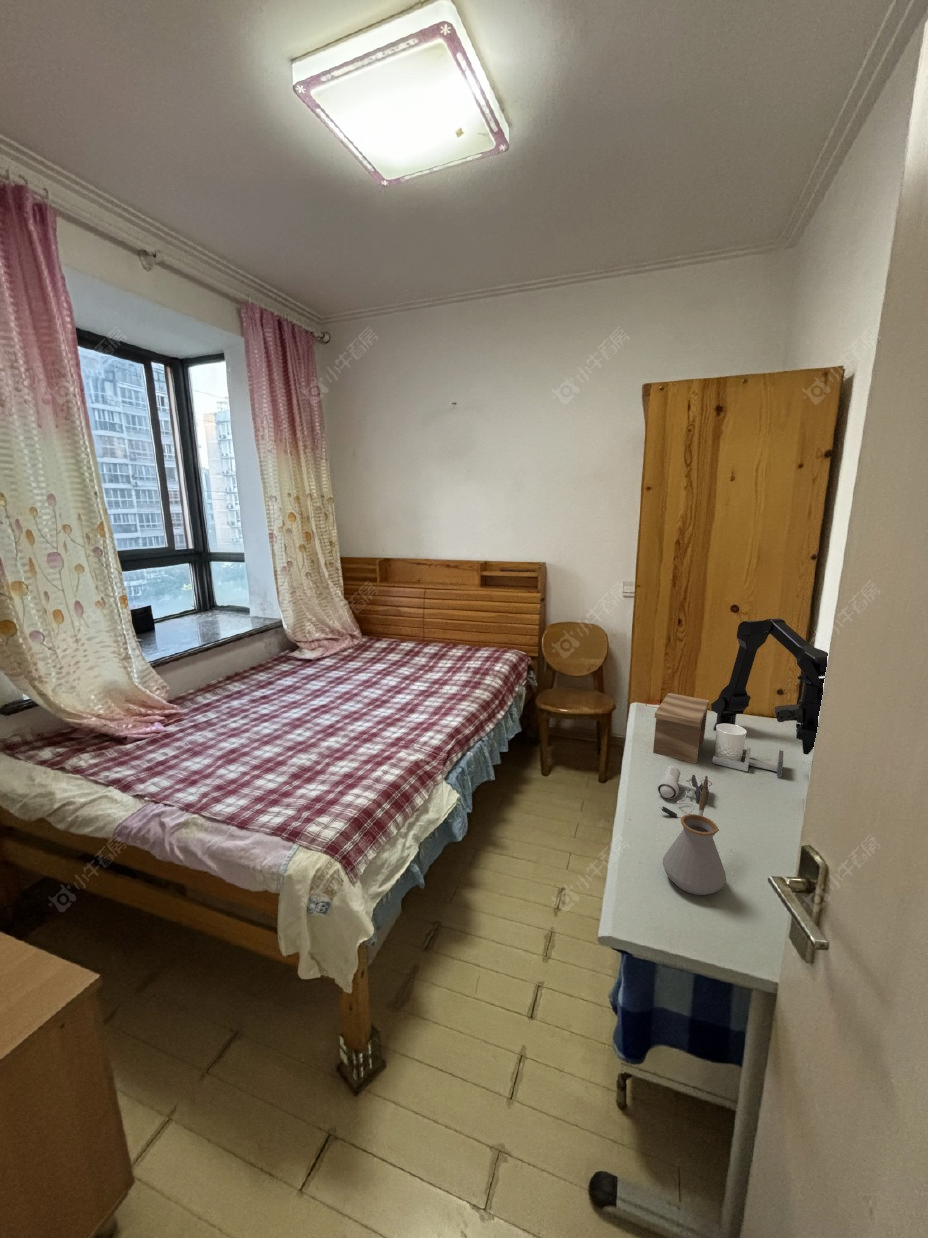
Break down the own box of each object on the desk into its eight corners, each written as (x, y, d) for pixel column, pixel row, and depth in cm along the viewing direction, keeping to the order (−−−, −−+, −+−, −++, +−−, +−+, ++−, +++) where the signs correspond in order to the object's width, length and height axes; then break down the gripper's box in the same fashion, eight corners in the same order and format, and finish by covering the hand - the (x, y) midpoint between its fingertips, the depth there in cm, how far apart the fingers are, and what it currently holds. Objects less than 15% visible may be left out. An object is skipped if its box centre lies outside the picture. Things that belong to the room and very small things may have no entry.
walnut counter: (664, 732, 167) (668, 692, 164) (704, 741, 161) (709, 700, 158) (650, 756, 151) (654, 712, 148) (694, 767, 144) (699, 722, 141)
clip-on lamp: (698, 837, 118) (709, 787, 132) (703, 817, 115) (714, 769, 129) (647, 817, 124) (663, 772, 137) (650, 798, 121) (666, 754, 135)
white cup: (735, 754, 152) (739, 724, 150) (747, 767, 144) (751, 735, 142) (708, 753, 153) (712, 722, 151) (718, 766, 145) (722, 734, 143)
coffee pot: (722, 912, 92) (732, 839, 89) (656, 888, 97) (663, 820, 94) (728, 846, 110) (736, 784, 107) (672, 830, 115) (678, 770, 112)
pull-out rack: (716, 748, 155) (718, 735, 154) (781, 763, 146) (783, 749, 145) (712, 762, 146) (714, 748, 145) (780, 779, 137) (783, 764, 136)
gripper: (779, 684, 146) (772, 734, 149) (778, 705, 131) (770, 759, 134) (825, 692, 140) (817, 743, 143) (830, 714, 125) (820, 771, 128)
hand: (805, 753), depth 137 cm, fingers closed
